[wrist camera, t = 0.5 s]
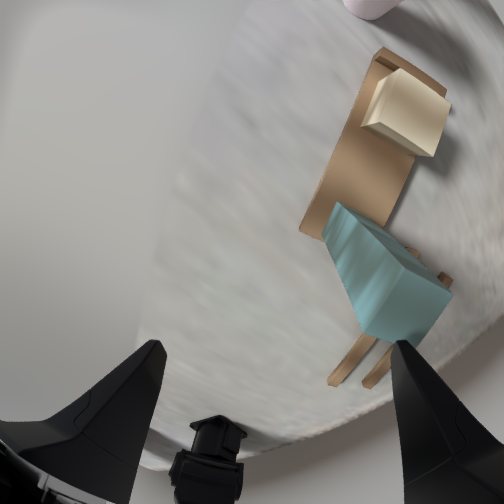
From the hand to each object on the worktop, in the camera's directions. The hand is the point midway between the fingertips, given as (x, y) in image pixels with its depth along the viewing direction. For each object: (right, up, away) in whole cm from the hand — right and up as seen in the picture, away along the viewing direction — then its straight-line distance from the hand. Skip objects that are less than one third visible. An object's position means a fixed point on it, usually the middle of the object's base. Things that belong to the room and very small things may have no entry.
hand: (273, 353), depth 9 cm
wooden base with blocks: (+9, +12, +11) cm, 18 cm away
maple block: (+11, +14, +8) cm, 20 cm away
